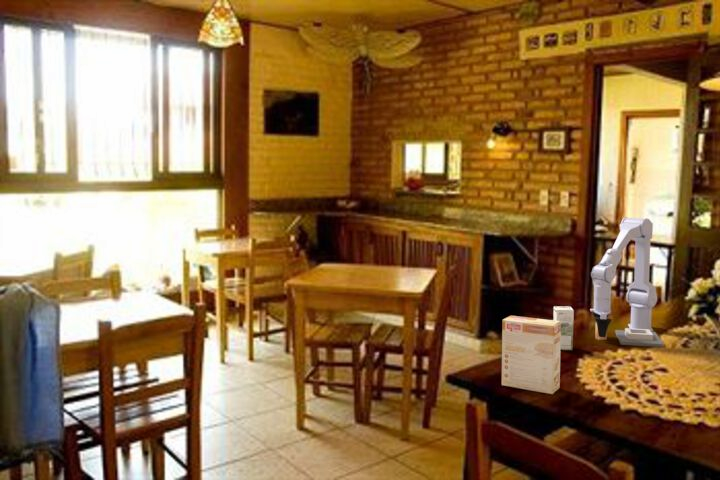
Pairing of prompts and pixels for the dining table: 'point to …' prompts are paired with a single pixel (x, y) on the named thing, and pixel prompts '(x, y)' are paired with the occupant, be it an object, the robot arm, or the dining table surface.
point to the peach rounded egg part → (598, 335)
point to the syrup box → (565, 325)
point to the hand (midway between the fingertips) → (601, 334)
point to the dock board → (638, 337)
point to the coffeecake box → (531, 354)
